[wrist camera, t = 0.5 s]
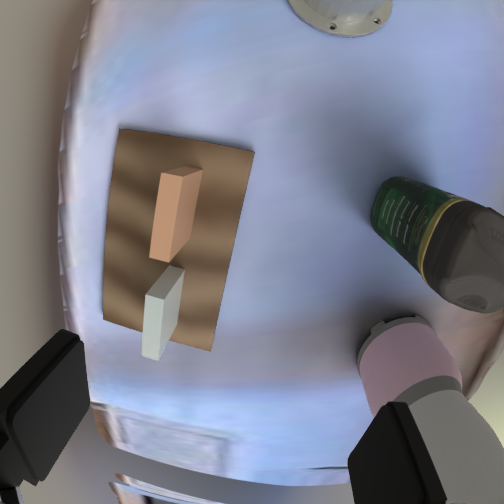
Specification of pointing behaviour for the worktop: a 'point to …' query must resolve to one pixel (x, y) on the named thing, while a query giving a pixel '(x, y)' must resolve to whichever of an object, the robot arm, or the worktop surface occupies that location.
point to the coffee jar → (445, 241)
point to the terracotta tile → (174, 211)
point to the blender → (434, 407)
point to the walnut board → (195, 249)
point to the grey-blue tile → (161, 312)
